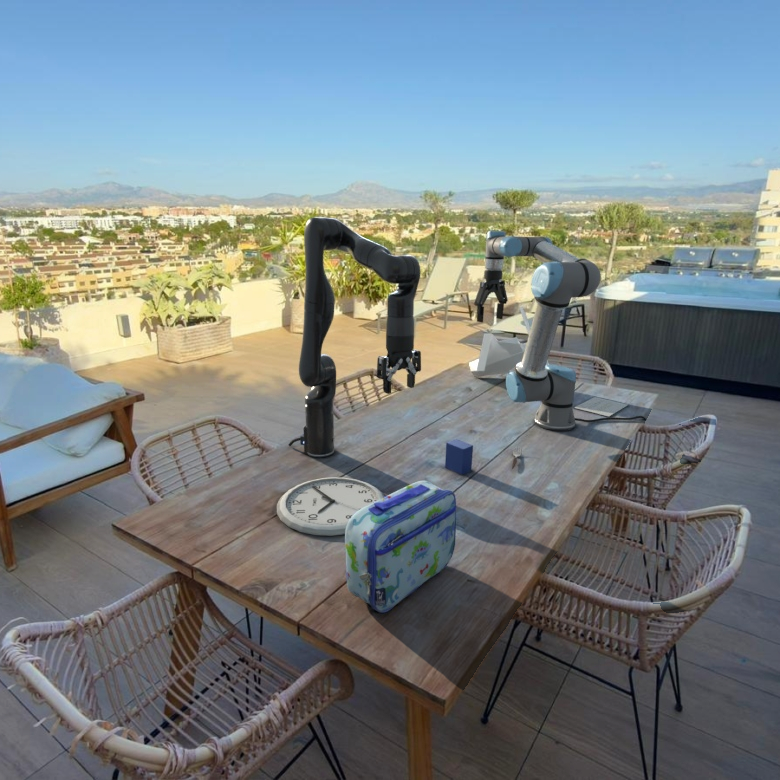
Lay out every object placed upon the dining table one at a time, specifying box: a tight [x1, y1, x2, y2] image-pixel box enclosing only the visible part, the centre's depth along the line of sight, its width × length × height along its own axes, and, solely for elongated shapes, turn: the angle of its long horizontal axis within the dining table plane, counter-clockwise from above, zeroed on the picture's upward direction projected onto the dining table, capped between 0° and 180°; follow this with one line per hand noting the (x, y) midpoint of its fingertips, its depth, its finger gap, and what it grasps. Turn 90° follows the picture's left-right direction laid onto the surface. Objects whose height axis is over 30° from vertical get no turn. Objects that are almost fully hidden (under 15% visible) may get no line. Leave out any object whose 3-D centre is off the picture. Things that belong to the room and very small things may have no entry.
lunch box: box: [344, 480, 457, 614], centre depth 109 cm, size 26×11×21 cm, turn 135°
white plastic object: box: [468, 306, 550, 378], centre depth 259 cm, size 37×45×31 cm
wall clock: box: [276, 476, 386, 537], centre depth 142 cm, size 30×2×30 cm
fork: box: [511, 445, 523, 470], centre depth 172 cm, size 3×16×2 cm, turn 160°
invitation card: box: [573, 396, 629, 418], centre depth 226 cm, size 21×1×15 cm
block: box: [444, 438, 474, 476], centre depth 164 cm, size 5×7×9 cm
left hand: (399, 390), depth 145 cm, fingers open, 8 cm apart
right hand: (489, 320), depth 224 cm, fingers open, 13 cm apart
